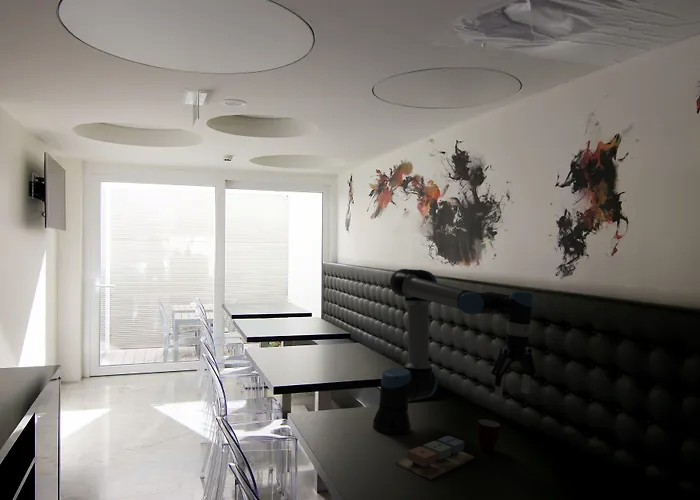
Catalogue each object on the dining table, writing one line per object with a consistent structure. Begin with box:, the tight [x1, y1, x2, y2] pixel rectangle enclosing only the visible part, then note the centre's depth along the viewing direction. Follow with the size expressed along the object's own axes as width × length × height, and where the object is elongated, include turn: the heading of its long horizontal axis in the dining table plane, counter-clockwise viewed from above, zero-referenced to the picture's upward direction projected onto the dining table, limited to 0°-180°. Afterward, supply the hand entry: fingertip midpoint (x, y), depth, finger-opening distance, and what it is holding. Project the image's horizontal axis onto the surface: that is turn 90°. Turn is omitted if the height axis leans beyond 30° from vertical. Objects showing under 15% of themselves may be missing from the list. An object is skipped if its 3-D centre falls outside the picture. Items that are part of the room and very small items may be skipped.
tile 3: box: [436, 435, 465, 454], centre depth 180 cm, size 7×7×3 cm
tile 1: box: [406, 445, 437, 467], centre depth 166 cm, size 7×7×3 cm
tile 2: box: [422, 440, 451, 460], centre depth 173 cm, size 7×7×3 cm
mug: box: [476, 418, 501, 452], centre depth 187 cm, size 11×8×10 cm
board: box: [395, 450, 475, 481], centre depth 173 cm, size 14×28×3 cm, turn 137°
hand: (511, 394), depth 177 cm, fingers open, 13 cm apart
